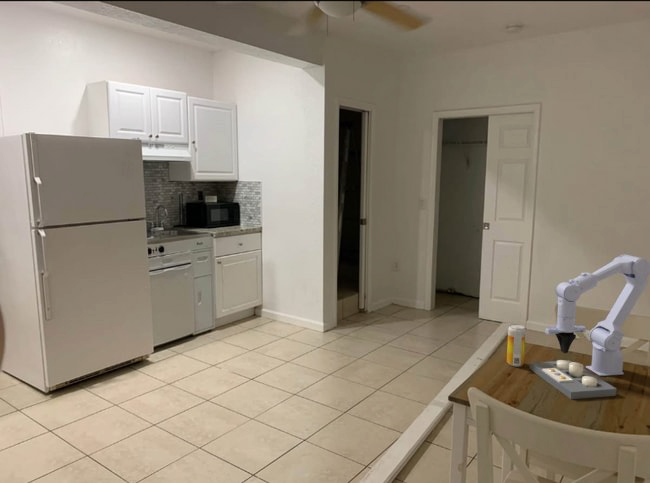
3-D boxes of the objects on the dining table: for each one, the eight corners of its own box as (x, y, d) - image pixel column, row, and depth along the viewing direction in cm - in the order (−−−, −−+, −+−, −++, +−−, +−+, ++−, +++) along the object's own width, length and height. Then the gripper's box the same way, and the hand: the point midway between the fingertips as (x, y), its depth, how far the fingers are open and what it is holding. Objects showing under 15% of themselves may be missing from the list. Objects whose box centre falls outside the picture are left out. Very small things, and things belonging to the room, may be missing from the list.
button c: (590, 386, 159) (591, 375, 158) (599, 392, 154) (600, 381, 154) (578, 387, 158) (579, 376, 158) (587, 392, 154) (587, 382, 153)
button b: (577, 372, 165) (578, 361, 165) (585, 377, 161) (586, 366, 160) (565, 372, 165) (566, 362, 164) (573, 378, 160) (574, 367, 160)
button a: (564, 369, 172) (565, 359, 172) (572, 374, 168) (572, 364, 168) (553, 370, 172) (554, 360, 171) (561, 375, 168) (561, 365, 167)
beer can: (520, 361, 181) (522, 324, 179) (525, 367, 175) (527, 329, 173) (504, 360, 182) (506, 323, 180) (509, 367, 176) (511, 329, 174)
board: (569, 366, 176) (569, 360, 175) (616, 395, 152) (616, 388, 152) (529, 368, 174) (530, 362, 174) (570, 399, 150) (571, 392, 150)
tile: (555, 369, 167) (555, 367, 167) (573, 381, 157) (573, 379, 157) (542, 370, 167) (542, 368, 167) (559, 382, 157) (559, 380, 157)
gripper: (577, 311, 172) (575, 346, 174) (541, 313, 170) (539, 349, 172) (590, 317, 165) (588, 353, 167) (552, 319, 163) (550, 356, 165)
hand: (564, 352), depth 169 cm, fingers closed
